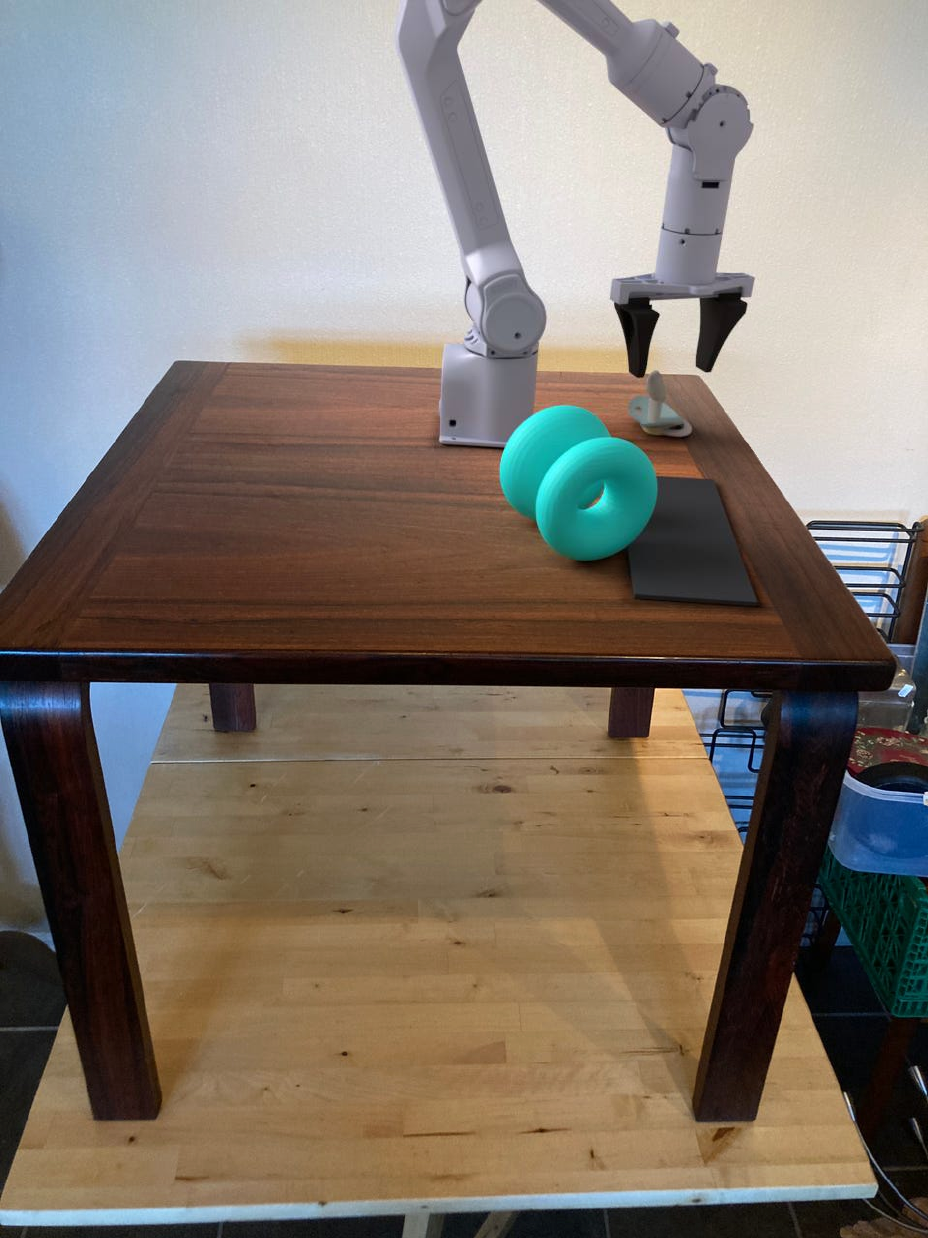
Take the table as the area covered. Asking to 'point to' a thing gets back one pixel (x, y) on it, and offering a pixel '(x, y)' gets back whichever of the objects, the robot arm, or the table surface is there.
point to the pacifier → (657, 410)
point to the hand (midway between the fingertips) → (670, 372)
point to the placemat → (688, 548)
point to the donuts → (578, 482)
